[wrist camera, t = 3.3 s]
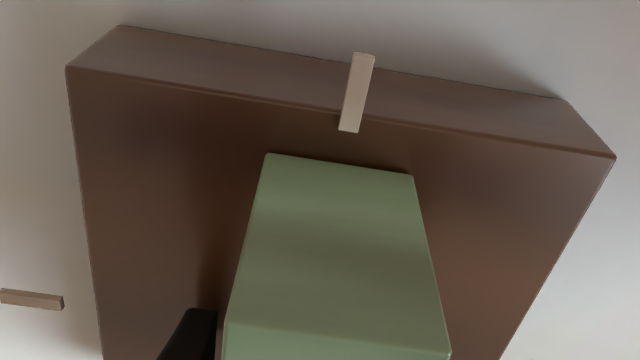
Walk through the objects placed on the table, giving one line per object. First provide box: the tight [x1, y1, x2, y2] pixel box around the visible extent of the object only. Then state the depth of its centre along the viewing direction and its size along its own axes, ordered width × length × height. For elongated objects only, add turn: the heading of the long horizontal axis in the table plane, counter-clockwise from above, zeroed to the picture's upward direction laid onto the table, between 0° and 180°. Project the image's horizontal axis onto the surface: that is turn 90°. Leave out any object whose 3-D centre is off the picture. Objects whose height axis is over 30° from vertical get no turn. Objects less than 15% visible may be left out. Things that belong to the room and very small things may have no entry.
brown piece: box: [0, 25, 617, 360], centre depth 13 cm, size 14×14×3 cm
